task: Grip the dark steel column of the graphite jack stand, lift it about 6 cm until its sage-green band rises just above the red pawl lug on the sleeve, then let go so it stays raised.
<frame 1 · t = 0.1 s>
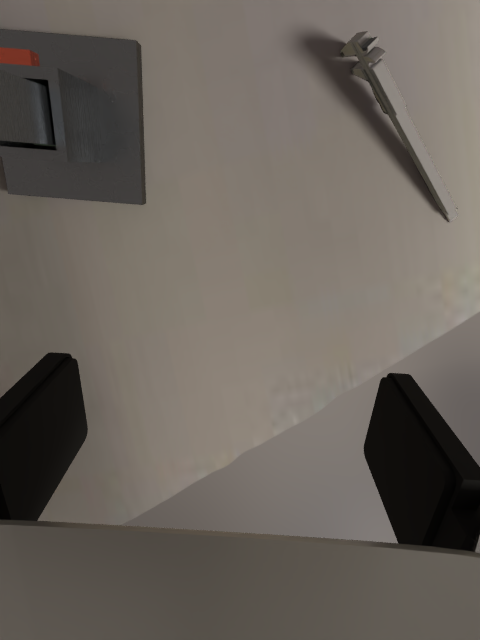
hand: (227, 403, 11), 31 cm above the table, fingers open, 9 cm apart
caliper: (401, 140, 36), on the table
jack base: (74, 124, 36), on the table
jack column: (21, 113, 28), point 9 cm above the table, slide at 0.0 cm
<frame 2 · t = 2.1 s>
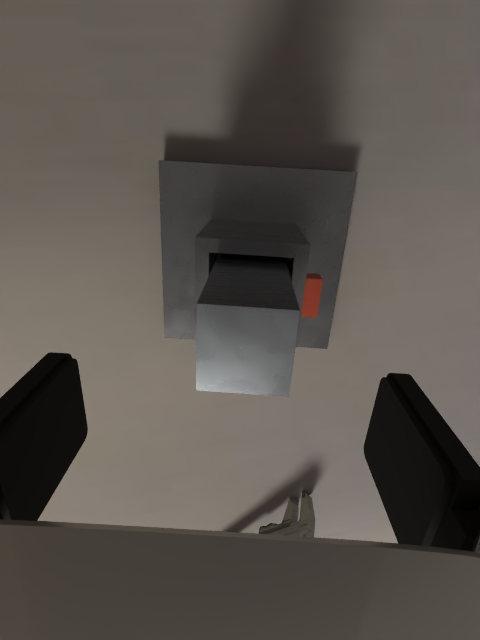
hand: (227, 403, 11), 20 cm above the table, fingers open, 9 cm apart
caliper: (241, 528, 43), on the table
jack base: (251, 258, 29), on the table
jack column: (248, 295, 21), point 9 cm above the table, slide at 0.0 cm
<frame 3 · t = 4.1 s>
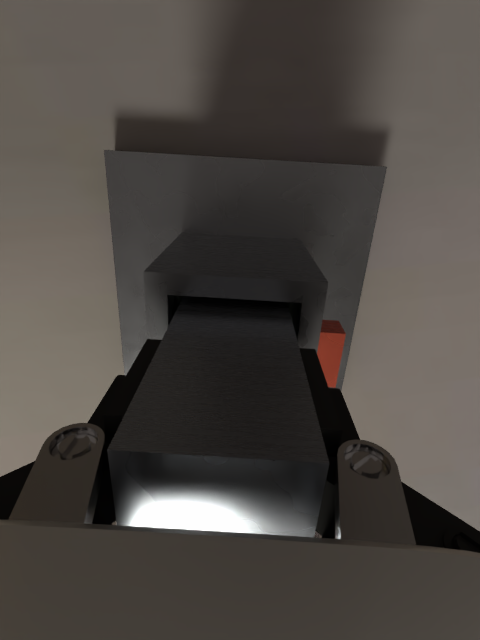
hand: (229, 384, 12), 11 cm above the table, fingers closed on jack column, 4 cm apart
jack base: (238, 283, 22), on the table
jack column: (231, 357, 14), point 9 cm above the table, slide at 0.0 cm, touching gripper
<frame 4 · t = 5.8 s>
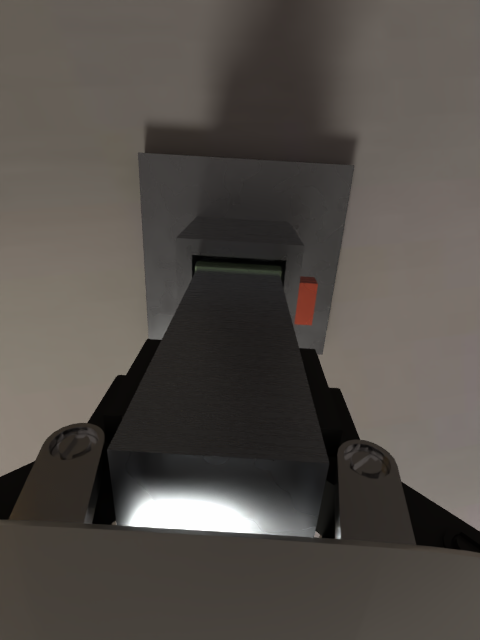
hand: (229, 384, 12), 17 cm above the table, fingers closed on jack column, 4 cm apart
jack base: (240, 259, 27), on the table
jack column: (231, 357, 14), point 15 cm above the table, slide at 5.9 cm, touching gripper
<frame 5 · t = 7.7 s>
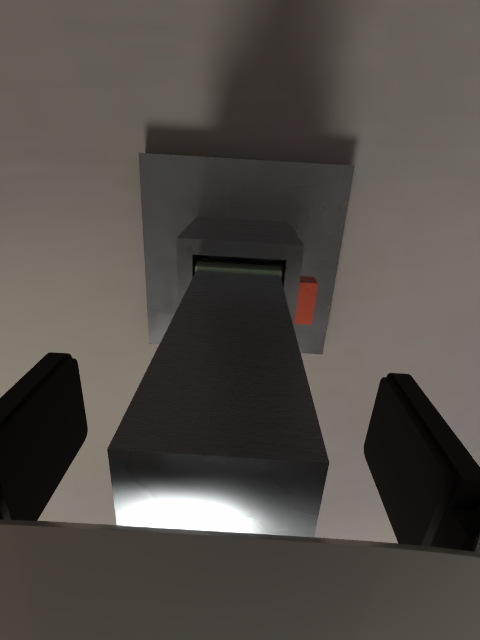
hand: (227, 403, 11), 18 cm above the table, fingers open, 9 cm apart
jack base: (241, 259, 27), on the table
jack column: (231, 357, 14), point 15 cm above the table, slide at 6.0 cm
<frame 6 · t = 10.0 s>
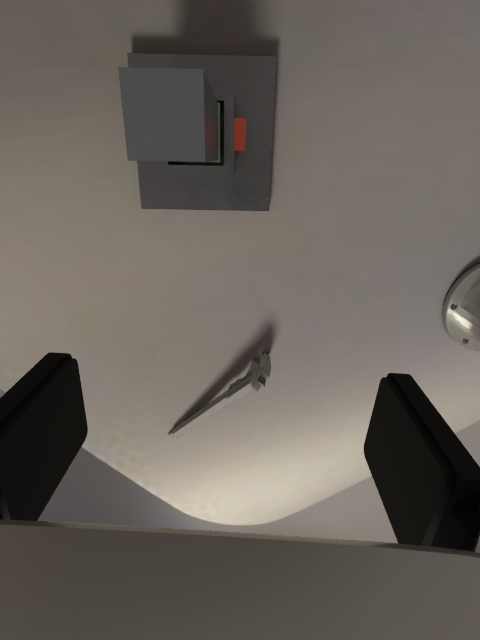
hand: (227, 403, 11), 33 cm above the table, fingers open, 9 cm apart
caliper: (216, 394, 52), on the table
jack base: (205, 139, 38), on the table
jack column: (184, 128, 24), point 15 cm above the table, slide at 6.0 cm
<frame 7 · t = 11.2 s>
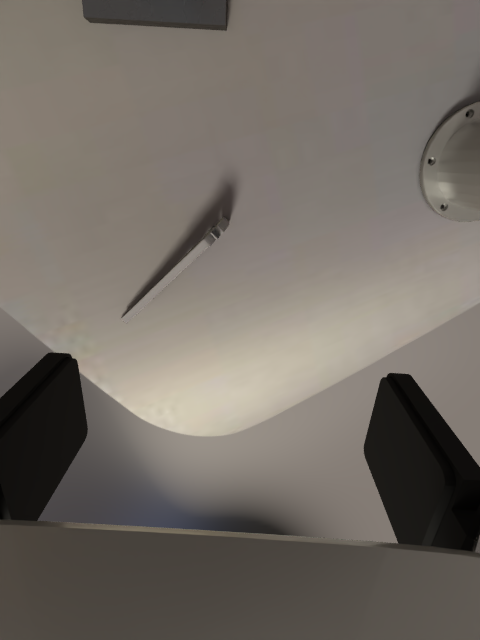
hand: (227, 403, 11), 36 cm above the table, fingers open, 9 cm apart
caliper: (172, 272, 48), on the table
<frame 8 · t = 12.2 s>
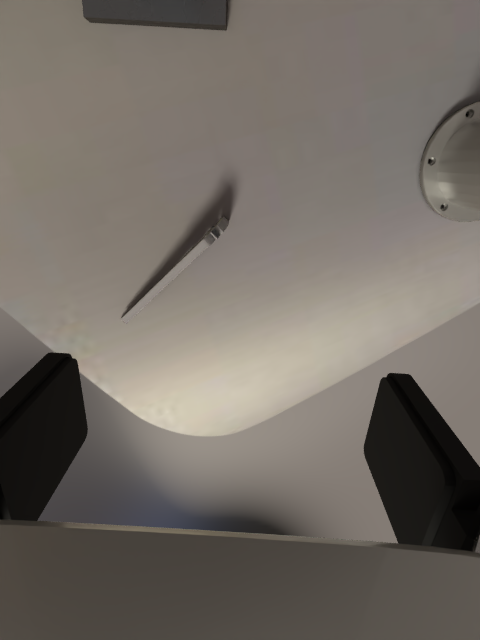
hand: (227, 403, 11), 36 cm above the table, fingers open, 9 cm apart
caliper: (172, 272, 48), on the table
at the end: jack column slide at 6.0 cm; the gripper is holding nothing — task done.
